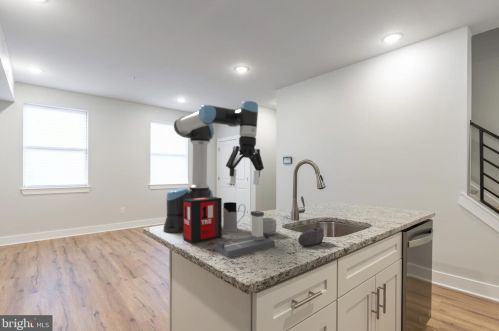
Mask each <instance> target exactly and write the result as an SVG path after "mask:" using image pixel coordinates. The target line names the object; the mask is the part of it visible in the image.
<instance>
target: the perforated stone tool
mask: <svg viewBox="0 0 499 331" xmlns="http://www.w3.org/2000/svg"><path fill="white" fill-rule="evenodd" d="M323 240H324V229H323V228H322V227H317V228H316V227H315V228H311V229H308V230H305V231H304V232H302V233H301V234H300V235H299V236H298V240H297V241H298V242H297V243H298V244H299V245H300V246H302V247H308V246H315V245H318V244H321V243H323Z"/></svg>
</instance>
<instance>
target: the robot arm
mask: <svg viewBox="0 0 499 331" xmlns="http://www.w3.org/2000/svg"><path fill="white" fill-rule="evenodd" d="M258 115H259V104H258V103H257V102H255V101H253V100H245V101H242V102H241V106H240V108H239V109H238V108H237V109H234V108H227V107H220V106H215V105H211V104H202V105H201V106H200V107H199V109H198V111H196V112H194V113H192V114H190V115H187V116H184V115H182V116H180V117H178V118H176V119H175V120H174V122H173V129H174V131H175V133H176V134H177V135H178V136H180V137H182V138H187V139H190V140H189V141H190V143H191V144H192V175H191V176H192V182H191V185H190V186H189V188H188V187H181V188H179V187H178V188H174V189H170V190H168V191H167V192H166V218H165V221H164V225H163V232H165V233H172V234H176V233H183V199H192V198H203V197H214V195H213V191H212V190H211V188H210V186H209V185H208V183H207V180H208V173H207V172H208V144H210V142H211V140H213V138H214V134H215V129H214V125H213V124H216V125H217V124H218V125H225V126H226V125H227V126H228V127H232V128H233V127H234V128H235V127H239V135H238V136H239V137H238V138H239V139H238V144H239V145H234V146H233V147H232V151H231V154H230V156H229V158H228V160H227V162H226V164H225V166H226V167H227V168H228V169H229V177H230V181H229V184H230V185H236V183H237V182H236V180H237V179H236V178H237V169H236V167H237V166H238V164H240V162H241V161H242V159H244V158H245V159H249V160H250V162H251V163H252V165H253V167H254V170H253V185H257V186H258V185H259V181H260V176H261V171H263V170H264V169H265V167H264V164H263V160H262V156H261V151H260V150H261V149H260V148H255V146H256V145H257V138H256V137H257V127H258Z"/></svg>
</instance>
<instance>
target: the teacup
mask: <svg viewBox="0 0 499 331" xmlns="http://www.w3.org/2000/svg"><path fill="white" fill-rule="evenodd" d="M276 230H277V219H276V218H275V217H267V216H266V217H263V232H264V233H267V234H269V236H272V235H274V233H276Z"/></svg>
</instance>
